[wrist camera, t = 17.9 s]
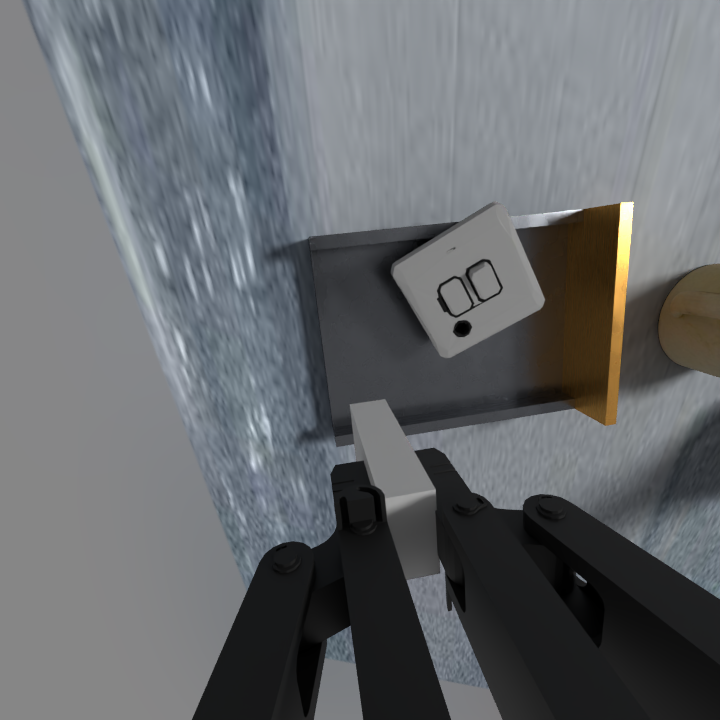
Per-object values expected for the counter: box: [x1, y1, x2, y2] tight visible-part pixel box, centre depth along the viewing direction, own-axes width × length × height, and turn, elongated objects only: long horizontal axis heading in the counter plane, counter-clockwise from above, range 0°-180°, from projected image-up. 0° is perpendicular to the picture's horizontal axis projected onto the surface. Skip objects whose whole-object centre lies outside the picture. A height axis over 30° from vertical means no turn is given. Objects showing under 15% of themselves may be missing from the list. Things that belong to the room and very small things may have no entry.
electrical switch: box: [391, 201, 545, 358], centre depth 32 cm, size 9×5×9 cm
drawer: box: [308, 202, 633, 447], centre depth 34 cm, size 18×24×8 cm
